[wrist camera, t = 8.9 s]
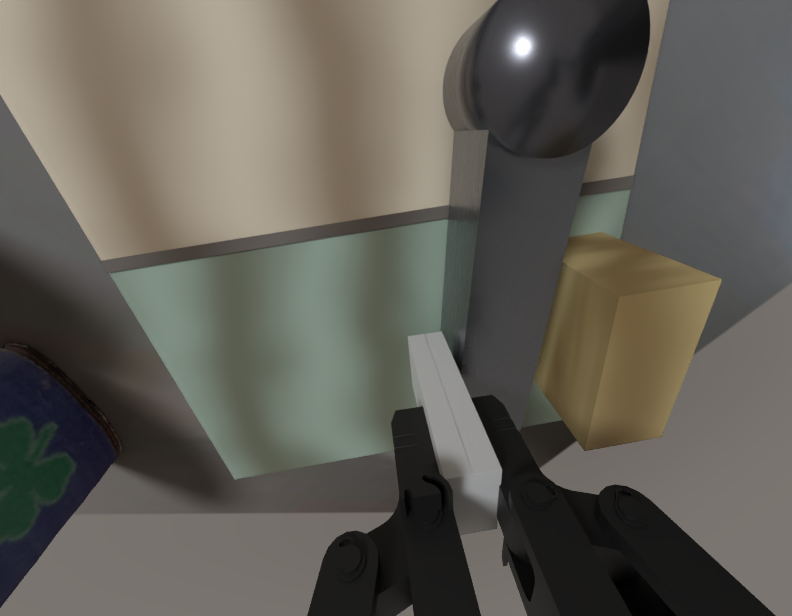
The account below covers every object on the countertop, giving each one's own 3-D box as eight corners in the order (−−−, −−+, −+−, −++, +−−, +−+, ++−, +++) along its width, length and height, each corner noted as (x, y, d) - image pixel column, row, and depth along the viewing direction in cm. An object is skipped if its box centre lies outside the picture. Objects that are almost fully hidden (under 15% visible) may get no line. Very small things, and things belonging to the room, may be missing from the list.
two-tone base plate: (653, -149, 11) (1142, -621, 4) (565, 393, 22) (654, 503, 15) (-34, -58, 10) (-799, -437, 3) (244, 451, 21) (194, 590, 15)
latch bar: (446, 9, 10) (494, -61, 6) (569, 12, 10) (678, -52, 7) (427, 383, 17) (445, 448, 14) (500, 378, 17) (536, 439, 14)
